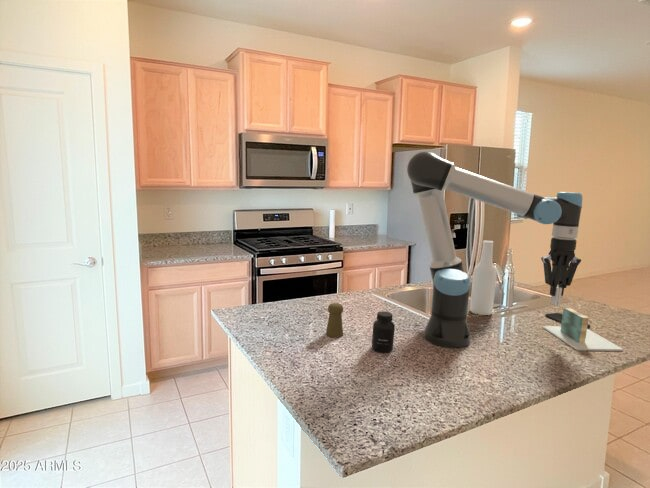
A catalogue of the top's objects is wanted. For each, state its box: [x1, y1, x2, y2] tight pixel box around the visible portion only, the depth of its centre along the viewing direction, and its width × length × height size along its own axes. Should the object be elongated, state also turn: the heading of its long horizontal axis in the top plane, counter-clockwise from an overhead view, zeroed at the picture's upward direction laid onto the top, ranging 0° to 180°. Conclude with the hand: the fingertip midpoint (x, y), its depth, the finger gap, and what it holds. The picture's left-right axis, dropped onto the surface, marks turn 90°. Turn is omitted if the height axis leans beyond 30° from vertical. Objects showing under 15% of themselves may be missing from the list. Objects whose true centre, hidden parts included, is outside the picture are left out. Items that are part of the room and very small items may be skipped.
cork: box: [325, 302, 344, 339], centre depth 142 cm, size 6×6×11 cm
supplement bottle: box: [371, 310, 396, 354], centre depth 131 cm, size 7×7×12 cm
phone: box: [544, 312, 591, 329], centre depth 164 cm, size 8×1×15 cm
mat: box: [542, 325, 624, 352], centre depth 147 cm, size 16×20×1 cm
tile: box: [560, 307, 590, 343], centre depth 146 cm, size 10×2×9 cm, turn 3°
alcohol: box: [469, 239, 498, 316], centre depth 168 cm, size 9×9×30 cm
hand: (554, 304), depth 144 cm, fingers closed
